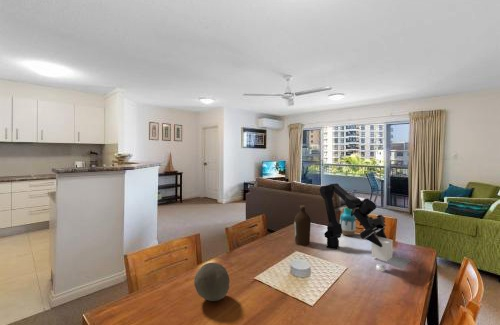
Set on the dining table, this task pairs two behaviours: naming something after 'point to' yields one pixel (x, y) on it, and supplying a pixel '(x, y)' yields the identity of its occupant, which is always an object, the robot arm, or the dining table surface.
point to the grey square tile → (396, 261)
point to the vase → (347, 222)
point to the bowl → (380, 268)
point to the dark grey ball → (212, 281)
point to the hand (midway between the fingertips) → (384, 244)
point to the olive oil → (302, 227)
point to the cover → (383, 249)
